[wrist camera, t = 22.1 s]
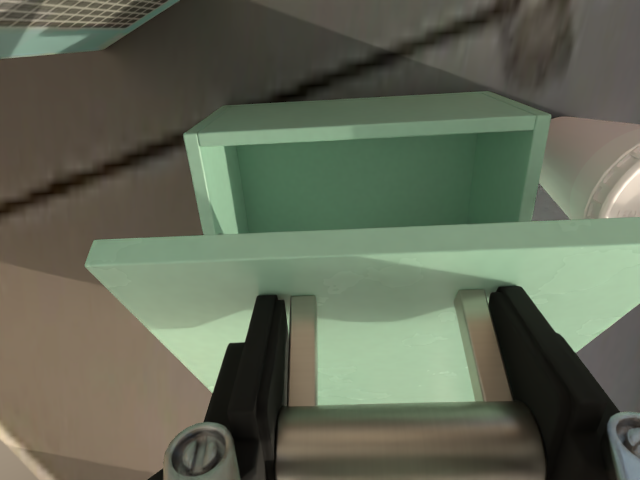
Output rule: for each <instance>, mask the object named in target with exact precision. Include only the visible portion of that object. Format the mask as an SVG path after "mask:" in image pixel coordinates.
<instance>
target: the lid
mask: <svg viewBox="0 0 640 480" xmlns="http://www.w3.org/2000/svg"><path fill="white" fill-rule="evenodd" d="M85 267H86V268H87V269H88V270H89V271H90V272H91V273H92V274H93V275H94V276H95V277H96V278H97V279H98V280H99V281H100V282H101V283H102V284H103V285H104V286H105V287H106V288H107V289H108V290H109V291H110V292H111V293H112V294H113V295H114V296H115V297H116V298H117V299H118V300H119V301H120V302H121V303H122V304H123V305H124V306H125V307H126V308H127V309H128V310H129V311H130V312H131V313H132V314H133V315H134V316H135V317H136V318H137V319H138V320H139V321H140V322H141V323H142V324H143V325H144V326H145V327H146V328H147V329H148V330H149V331H150V332H151V333H152V334H153V335H154V336H155V337H156V338H157V339H158V340H159V341H160V342H161V343H162V344H163V345H164V346H165V347H166V348H167V349H168V350H169V351H170V352H171V353H172V354H173V355H174V356H175V357H176V358H177V359H178V360H179V361H180V362H181V363H182V364H183V365H184V366H185V367H186V368H187V369H188V370H189V371H190V372H191V373H192V374H193V375H195V376H196V377H197V378H198V379H199V380H200V381H201V382H202V383H203V384H204V385H205V386H206V387H207V388H208V389H209V390H210V391H211V392H212V393H213V391H214V387H215V384H216V381H217V378H218V375H219V371H220V368H221V365H222V362H223V358H224V355H225V352H226V349H227V346H228V344H229V343H240V342H245V340H246V336H247V332H248V328H249V324H250V320H251V317H252V313H253V309H254V305H255V301H256V298H257V296H258V295H277V297H278V300H284V301H285V307H286V316H287V324H288V333H289V349H288V378H287V406H282V407H281V408H280V410H279V413H278V417H277V423H276V433H275V464H274V465H275V480H546V478H547V460H546V452H545V447H544V442H543V438H542V435H541V432H540V429H539V426H538V424H537V422H536V419H535V417H534V415H533V414H532V412H531V410H530V409H529V408H528V407H527V405H526V404H524V403H523V402H521V401H518V400H514V398H513V394H512V390H511V387H510V383H509V379H508V375H507V372H506V368H505V364H504V361H503V357H502V353H501V349H500V346H499V342H498V338H497V334H496V331H495V327H494V323H493V320H492V316H491V312H490V308H489V305H488V304H489V297H490V294H491V293H492V292H496V290H497V289H498V287H507V286H521V287H522V288H523V289H524V290H525V292H526V293H527V294H528V296H529V297H530V299H531V300H532V301H533V303H534V304H535V305H536V307H537V308H538V309H539V311H540V312H541V313H542V315H543V316H544V317H545V319H546V320H547V321H548V323H549V324H550V325H551V327H552V328H553V329H554V331H555V332H556V333H558V334H560V335H561V336H562V337H563V338H564V339H565V340H566V341H567V343H568V344H569V345H570V347H571V348H572V349H573V351H574V352H575V353H576V352H577V351H579V350H580V349H581V348H582V347H584V346H585V345H586V344H588V343H589V342H590V341H592V340H593V339H594V338H595V337H597V336H598V335H599V334H601V333H602V332H603V331H605V330H606V329H607V328H608V327H610V326H611V325H612V324H614V323H615V322H616V321H617V320H619V319H620V318H621V317H623V316H624V315H625V314H627V313H628V312H629V311H630V310H632V309H633V308H634V307H636V306H637V305H638V304H639V303H640V217H624V218H600V219H577V220H553V221H529V222H505V223H481V224H457V225H434V226H410V227H386V228H362V229H338V230H315V231H291V232H267V233H243V234H219V235H195V236H172V237H148V238H124V239H100V240H94V241H93V243H92V246H91V249H90V251H89V254H88V257H87V260H86V262H85Z"/></svg>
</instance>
